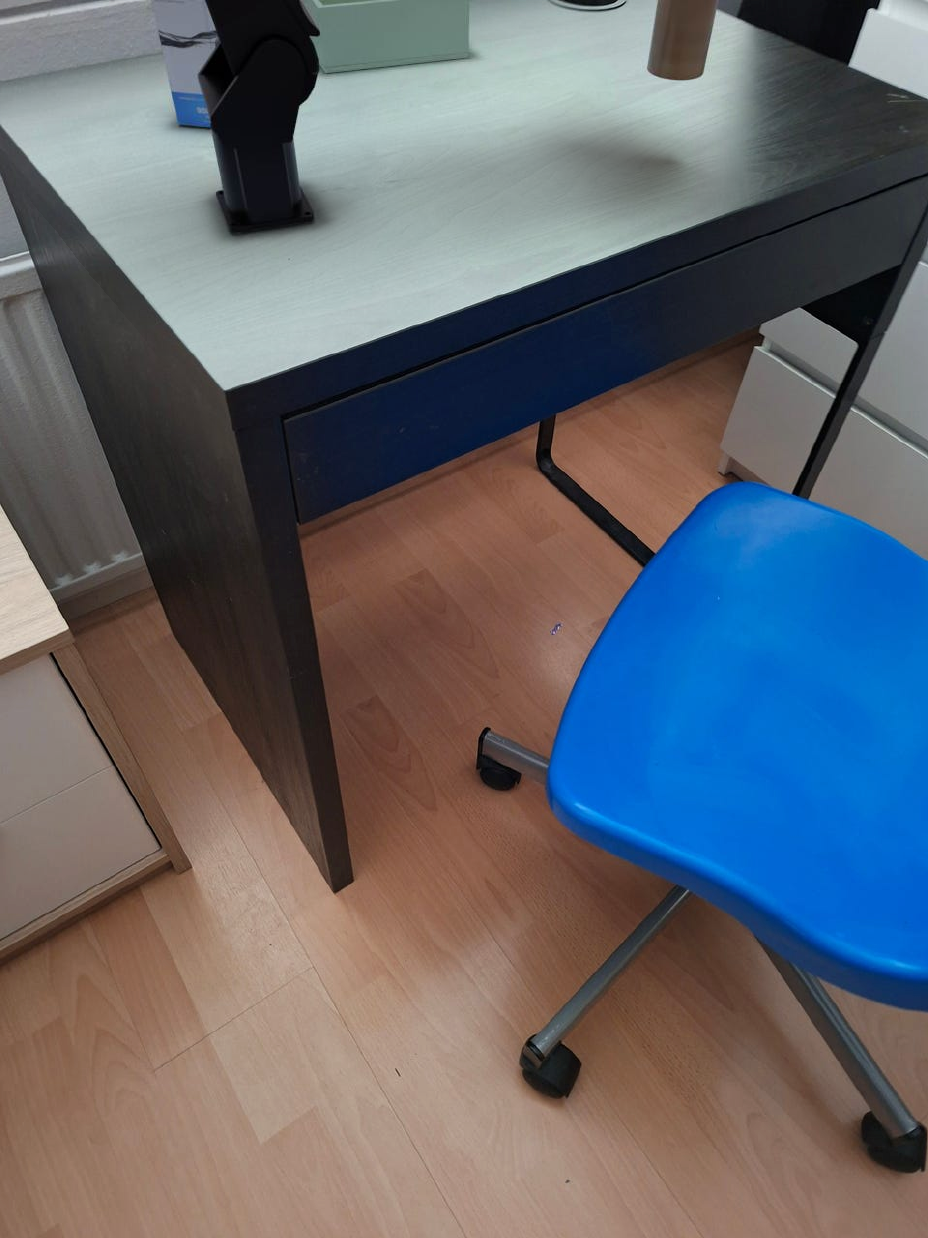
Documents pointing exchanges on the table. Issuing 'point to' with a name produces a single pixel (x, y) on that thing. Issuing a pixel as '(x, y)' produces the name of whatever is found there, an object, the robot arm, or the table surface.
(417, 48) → the tub
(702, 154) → the table surface
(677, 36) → the pepper mill
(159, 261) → the table surface
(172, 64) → the ink box
